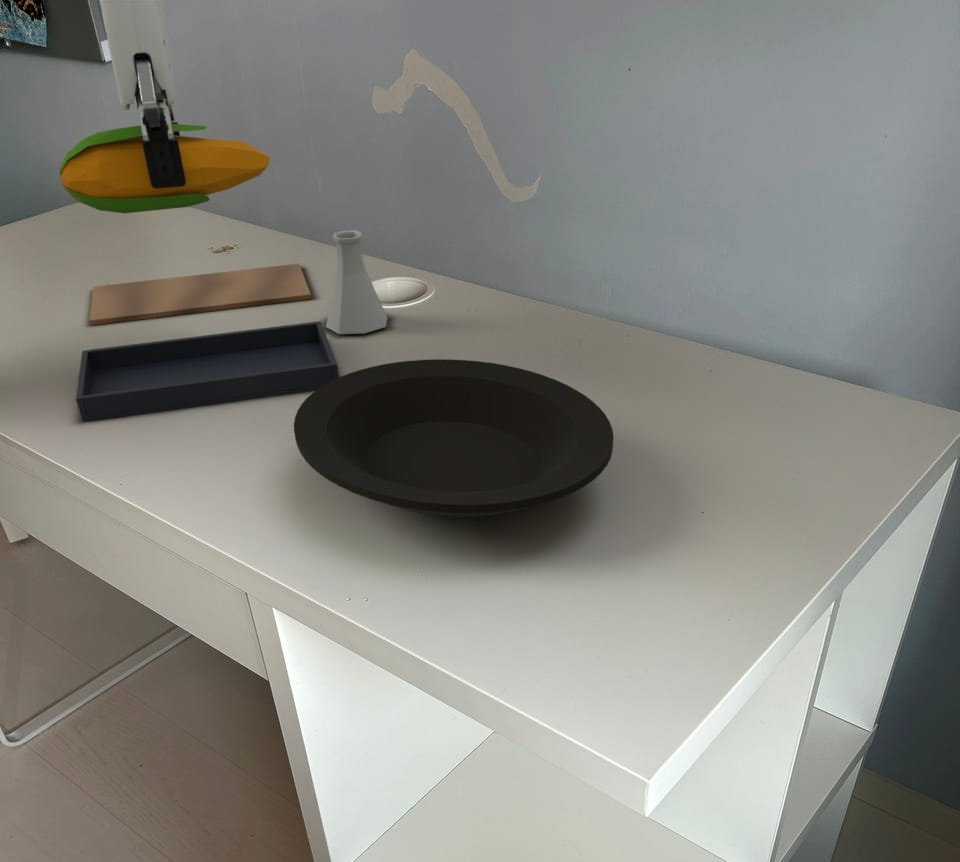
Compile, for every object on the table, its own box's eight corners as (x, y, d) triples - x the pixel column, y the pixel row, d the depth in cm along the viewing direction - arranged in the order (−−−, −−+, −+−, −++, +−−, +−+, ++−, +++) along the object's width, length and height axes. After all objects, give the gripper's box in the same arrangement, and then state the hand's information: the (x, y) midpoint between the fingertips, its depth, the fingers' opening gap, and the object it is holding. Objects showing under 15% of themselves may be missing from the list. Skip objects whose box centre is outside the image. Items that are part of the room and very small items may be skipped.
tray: (82, 421, 95) (75, 398, 94) (88, 372, 105) (82, 350, 103) (339, 386, 100) (337, 364, 98) (323, 342, 109) (320, 320, 108)
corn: (48, 121, 94) (257, 103, 98) (70, 204, 99) (269, 183, 103) (48, 144, 89) (269, 123, 93) (72, 230, 94) (281, 206, 98)
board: (90, 325, 115) (88, 320, 115) (94, 291, 124) (93, 286, 124) (311, 299, 120) (310, 294, 119) (299, 267, 129) (299, 263, 128)
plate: (241, 484, 85) (229, 424, 82) (435, 391, 98) (432, 336, 95) (479, 611, 70) (476, 546, 66) (669, 481, 83) (676, 421, 80)
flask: (319, 318, 115) (307, 229, 108) (379, 309, 116) (371, 221, 110) (333, 340, 109) (321, 248, 103) (395, 330, 111) (388, 239, 105)
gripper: (86, -49, 91) (133, 159, 103) (71, -33, 78) (126, 204, 89) (169, -53, 93) (206, 153, 104) (168, -37, 79) (210, 196, 91)
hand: (169, 175), depth 97 cm, fingers closed on corn, 6 cm apart
